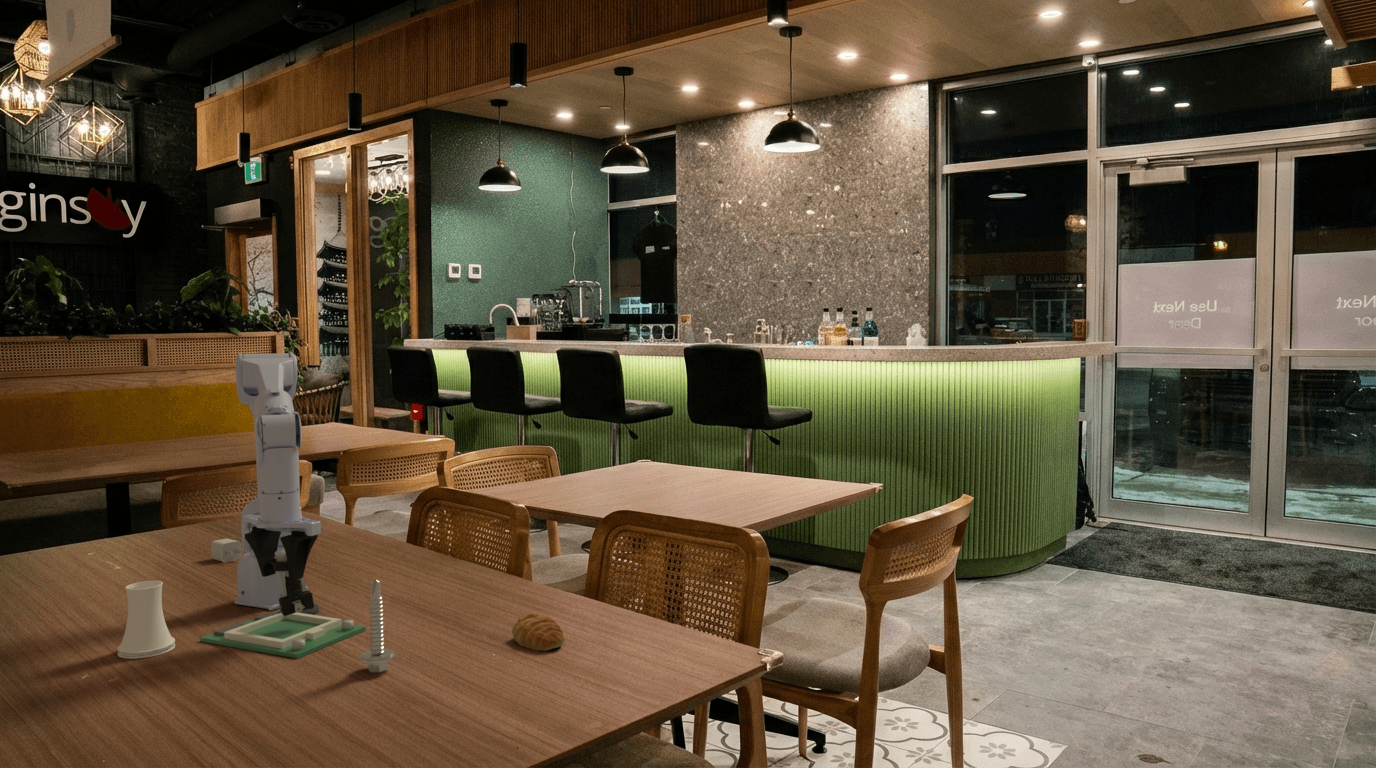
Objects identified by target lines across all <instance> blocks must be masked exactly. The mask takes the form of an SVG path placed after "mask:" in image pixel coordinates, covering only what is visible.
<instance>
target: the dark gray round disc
mask: <svg viewBox="0 0 1376 768" xmlns="http://www.w3.org/2000/svg"><path fill="white" fill-rule="evenodd" d="M319 612H320V605H319V604H318V603H315V602H314V608H312V609H306V610H303V611H301V612H298V613H304V614H311V615H318V613H319Z"/></svg>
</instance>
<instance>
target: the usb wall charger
mask: <svg viewBox="0 0 1376 768" xmlns="http://www.w3.org/2000/svg"><path fill="white" fill-rule="evenodd" d="M210 550H211V559H212V560H215V561H218V562H222V563H228V562H229V563H230V562H234V561H238V560H239V561H240V559H241V557H242V555H244V550H243V549H242V542H241V541H239V540H235V539H230V538H223V539H218V540H217V539H216V540H213V541H211V544H210Z"/></svg>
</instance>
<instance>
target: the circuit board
mask: <svg viewBox="0 0 1376 768" xmlns="http://www.w3.org/2000/svg"><path fill="white" fill-rule="evenodd" d="M272 613H276V611H275V612H274V611H273V612H266V613H263V614H261V615H257V616H254V618H253V619H249V620H247V621H243V622H240V623H239V622H238V623H233V624H230V625H228V626H225V627H222V628H219V629H217V630H214V631H213V632H212V633H208V634H206V635H203V636H201V637H199V640H200V642H201V643H202V642H203V643H209V644H215V645H220V646H225V647H230V648H235V649H236V648H237V649H243V650H246V651H248V650H249V651H253V652H258V653H259V652H260V653H263V654H264V653H265V654H271V655H277V656H282V657H286V658H287V657H288V658H293V659H300V658H303V657H305V656H307V655H309V654H312V653H314V652H317V651H319V650H322V649H324V648H326V647H329V646H332V645H334V644H336V643H338V642H341V641H343V640H345V639H348V638H350V637H353V636H355V635H358V634H360V633H362V632H364V631H366V630H367V629H366V627H367V626H364V625H359V624H358V625H357V624H355V623H354V619H344V620H342V619H341V618H336V617H329V616H323V615H318V614H315V615H311V614H304V613H293V614H290V615H287V616H284V615H283V614H282V613H281V614H276V615H273V616H271V615H270V614H272Z"/></svg>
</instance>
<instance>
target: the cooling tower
mask: <svg viewBox="0 0 1376 768" xmlns="http://www.w3.org/2000/svg"><path fill="white" fill-rule="evenodd" d="M163 584H164V582H163V581H160V580H145V581H144V580H143V581H138V582H133V583H130V584H128V585H126V586H125V593H126V598H127V621H126V625H125V630H124V634H123V638H122V640H121V641H120V642H121V643H120V645H119V644H118V646H117V647H116V648H117V649H116V651H117V656H118V657H119V658H121V659H122V658H123V659H128V660H131V659H132V660H133V659H143V658H144V659H145V658H151V657H155V656H160V655H164V654H165V653H169V652H170V651H173V649H175V647H176V643H175V642H176V639H175V638H174V637H173V636H172V635H171V633H170V631H169V628H168V626H167V623H166V620H165V616H164V612H163V604H162V602H163V600H162V595H163V594H162V592H163V591H162V590H163Z"/></svg>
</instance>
